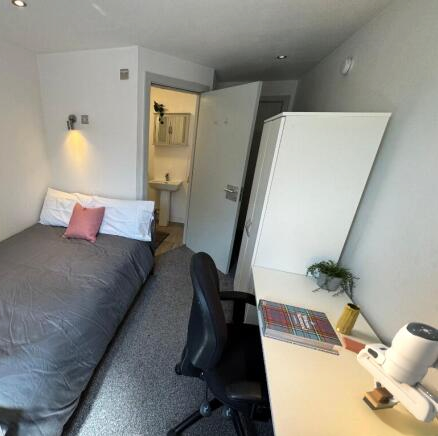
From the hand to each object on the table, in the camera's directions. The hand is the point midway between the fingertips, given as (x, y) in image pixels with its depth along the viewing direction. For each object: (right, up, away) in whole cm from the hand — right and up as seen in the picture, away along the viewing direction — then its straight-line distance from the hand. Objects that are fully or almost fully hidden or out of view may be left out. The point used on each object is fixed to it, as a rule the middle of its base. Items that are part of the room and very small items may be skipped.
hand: (383, 396), depth 77 cm
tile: (+13, +3, +24) cm, 28 cm away
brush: (-1, -3, +1) cm, 4 cm away
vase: (+15, +6, +33) cm, 37 cm away
